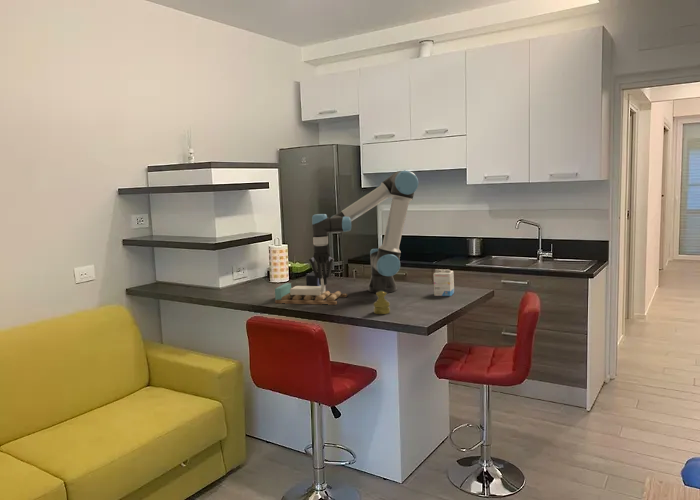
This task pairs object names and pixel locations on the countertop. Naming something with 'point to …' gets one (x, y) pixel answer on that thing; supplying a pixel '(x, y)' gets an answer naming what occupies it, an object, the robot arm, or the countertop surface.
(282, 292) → the block
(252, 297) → the countertop surface
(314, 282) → the small box
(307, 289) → the slab
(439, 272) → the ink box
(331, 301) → the roller bed
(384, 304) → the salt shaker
